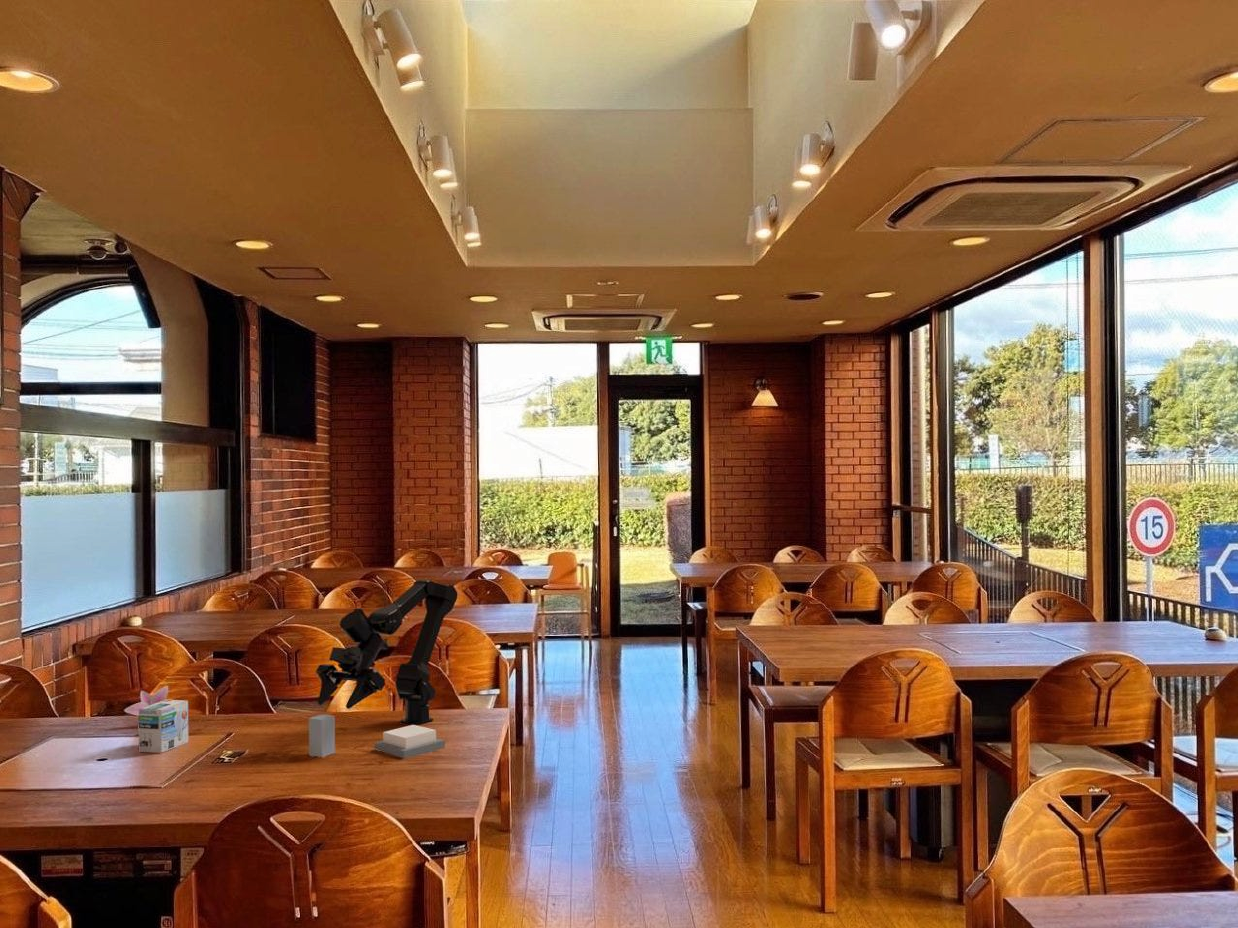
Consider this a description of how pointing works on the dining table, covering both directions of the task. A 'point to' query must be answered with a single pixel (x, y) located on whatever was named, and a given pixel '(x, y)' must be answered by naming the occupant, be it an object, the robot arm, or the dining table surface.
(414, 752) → the square tray
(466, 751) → the dining table surface
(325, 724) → the slate block
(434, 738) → the off-white top slab
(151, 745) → the light bulb box
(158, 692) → the lily
